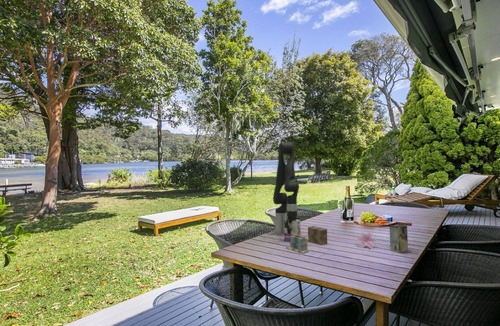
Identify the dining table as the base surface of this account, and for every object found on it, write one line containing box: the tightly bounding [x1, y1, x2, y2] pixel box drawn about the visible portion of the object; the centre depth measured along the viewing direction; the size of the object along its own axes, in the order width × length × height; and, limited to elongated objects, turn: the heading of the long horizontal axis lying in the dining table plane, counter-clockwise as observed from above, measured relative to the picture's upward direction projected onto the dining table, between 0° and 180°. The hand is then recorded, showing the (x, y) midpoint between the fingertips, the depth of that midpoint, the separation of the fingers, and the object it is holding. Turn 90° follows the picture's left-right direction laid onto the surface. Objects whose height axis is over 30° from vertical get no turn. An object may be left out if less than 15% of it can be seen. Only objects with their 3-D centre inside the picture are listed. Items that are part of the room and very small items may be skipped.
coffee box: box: [389, 223, 409, 254], centre depth 181 cm, size 9×6×16 cm
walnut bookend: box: [307, 225, 328, 246], centre depth 199 cm, size 12×6×10 cm, turn 38°
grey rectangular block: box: [285, 234, 310, 255], centre depth 193 cm, size 15×27×10 cm, turn 128°
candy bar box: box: [283, 218, 302, 242], centre depth 205 cm, size 11×5×16 cm, turn 62°
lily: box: [355, 231, 377, 250], centre depth 191 cm, size 12×12×10 cm
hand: (292, 232), depth 205 cm, fingers closed on candy bar box, 6 cm apart
